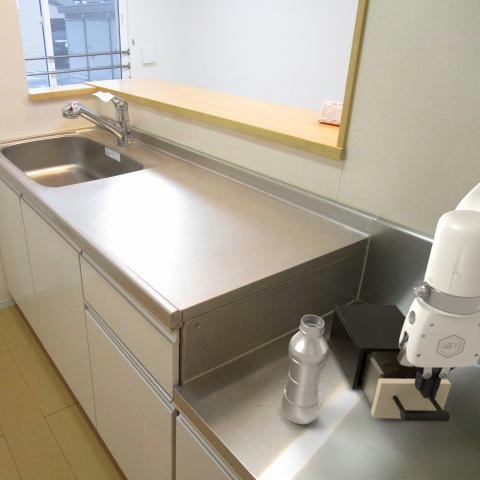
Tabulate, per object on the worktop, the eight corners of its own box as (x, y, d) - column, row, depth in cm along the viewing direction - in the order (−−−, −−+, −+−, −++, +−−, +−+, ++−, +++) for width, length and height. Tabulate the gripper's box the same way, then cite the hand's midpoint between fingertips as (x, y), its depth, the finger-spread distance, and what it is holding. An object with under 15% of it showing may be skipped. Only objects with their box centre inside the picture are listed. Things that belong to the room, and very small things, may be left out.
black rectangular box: (419, 389, 85) (431, 348, 81) (352, 389, 86) (360, 348, 82) (386, 342, 98) (395, 304, 94) (328, 341, 99) (334, 304, 95)
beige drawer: (456, 442, 73) (468, 405, 70) (384, 441, 74) (394, 404, 70) (404, 366, 90) (412, 334, 87) (346, 366, 90) (352, 334, 87)
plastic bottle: (321, 409, 81) (338, 316, 73) (312, 435, 76) (329, 338, 68) (286, 396, 84) (298, 305, 76) (275, 420, 79) (286, 326, 71)
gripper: (410, 309, 62) (387, 409, 70) (522, 308, 61) (486, 409, 69) (387, 282, 69) (368, 376, 77) (488, 281, 68) (458, 375, 76)
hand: (424, 391), depth 73 cm, fingers closed
